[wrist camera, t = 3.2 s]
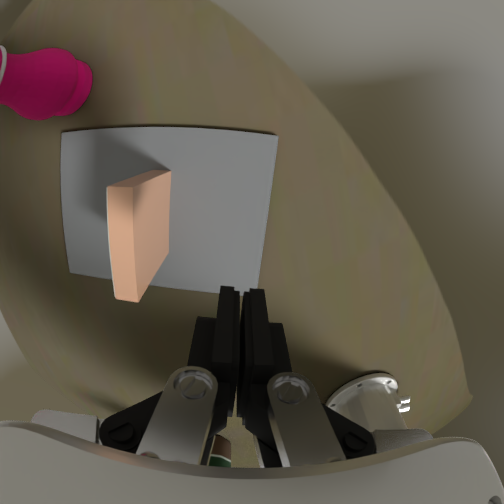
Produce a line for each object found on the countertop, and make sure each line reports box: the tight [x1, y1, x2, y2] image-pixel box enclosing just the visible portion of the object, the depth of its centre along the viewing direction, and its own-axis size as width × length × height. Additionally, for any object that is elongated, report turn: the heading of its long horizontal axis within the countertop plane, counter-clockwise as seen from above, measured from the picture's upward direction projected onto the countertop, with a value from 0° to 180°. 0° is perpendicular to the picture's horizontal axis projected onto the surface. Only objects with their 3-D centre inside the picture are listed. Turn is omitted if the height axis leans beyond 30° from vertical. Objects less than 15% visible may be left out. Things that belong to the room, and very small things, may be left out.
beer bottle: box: [208, 435, 231, 467], centre depth 31 cm, size 8×8×24 cm
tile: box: [107, 170, 171, 302], centre depth 20 cm, size 2×8×9 cm, turn 173°
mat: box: [61, 127, 279, 296], centre depth 25 cm, size 22×16×1 cm
